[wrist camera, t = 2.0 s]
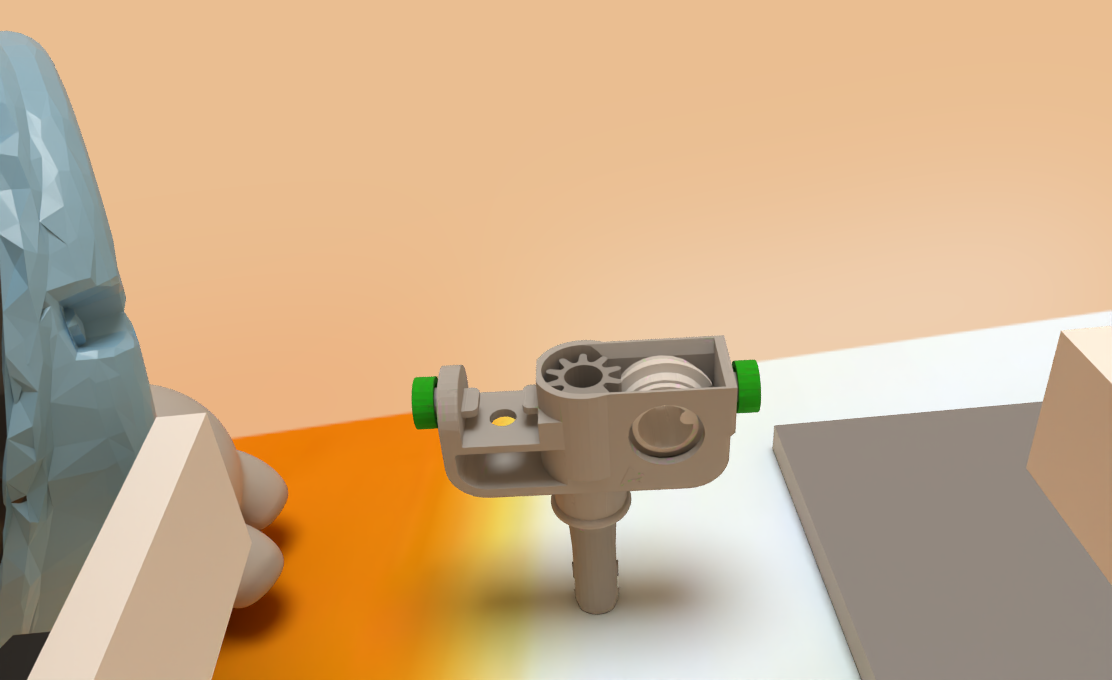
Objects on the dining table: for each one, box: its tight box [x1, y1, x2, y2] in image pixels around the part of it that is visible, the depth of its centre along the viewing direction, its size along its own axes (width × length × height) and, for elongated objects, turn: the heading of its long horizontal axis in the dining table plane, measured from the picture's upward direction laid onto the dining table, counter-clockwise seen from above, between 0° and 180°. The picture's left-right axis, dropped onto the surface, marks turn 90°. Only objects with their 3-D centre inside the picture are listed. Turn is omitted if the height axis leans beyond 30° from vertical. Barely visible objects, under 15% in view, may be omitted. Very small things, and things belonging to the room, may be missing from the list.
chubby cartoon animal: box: [149, 384, 288, 608], centre depth 33 cm, size 7×12×8 cm, turn 97°
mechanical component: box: [412, 336, 761, 614], centre depth 31 cm, size 3×10×10 cm, turn 90°
